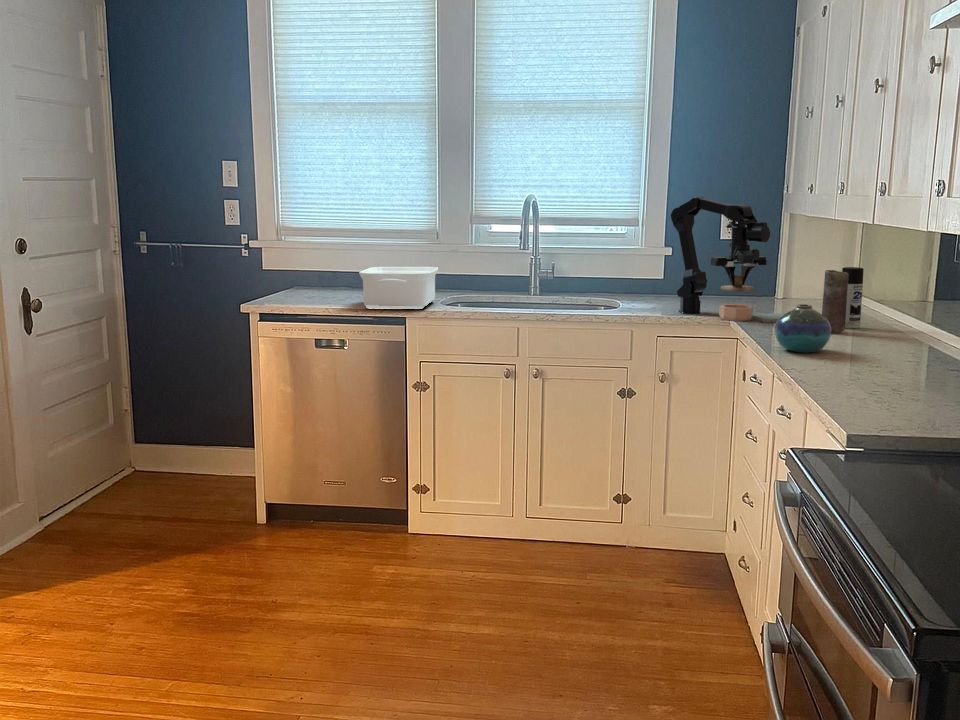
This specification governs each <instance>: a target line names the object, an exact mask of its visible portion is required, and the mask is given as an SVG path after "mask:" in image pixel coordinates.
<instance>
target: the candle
mask: <svg viewBox="0 0 960 720" xmlns="http://www.w3.org/2000/svg"><path fill="white" fill-rule="evenodd" d="M848 276H849V274H848V273H846V272H842V271H839V270H833V269H825V271H824V280H823V281H824V283H823V293H822V295H823V296H822V307H821V314H822V315H823V316H824V317H826V318H827V319H828V321H829V322H830V325H831V333H835V334H836V333H842V332H844V331H845V320H846V305H847V290H848Z"/></svg>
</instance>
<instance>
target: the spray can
mask: <svg viewBox="0 0 960 720" xmlns="http://www.w3.org/2000/svg"><path fill="white" fill-rule="evenodd" d="M864 270H865V269H864V268H863V267H859V266H858V267H856V266H846V267H842V268H841V272H846V273H848V274H849V276H848V290H847V305H846V320H845V329H846V330H859V329H861V319H862V317H861V316H862V314H861V313H862V303H863V302H862V300H863V289H864V288H863V284H864Z"/></svg>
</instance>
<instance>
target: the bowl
mask: <svg viewBox="0 0 960 720" xmlns="http://www.w3.org/2000/svg"><path fill="white" fill-rule="evenodd" d="M718 309H719V311H718V313H719V314H718V315H719V316H720V317H719V319H721V320H723V321H731V322H745V321H747V322H748V321H751V320H752V318H751V317H753V314H754V307H753V306H751V305H749V304H741V303H740V304H737V303H733V304H731V303H729V304H728V303H727V304H722V305H721V304H720V305H719V308H718Z"/></svg>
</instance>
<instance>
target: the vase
mask: <svg viewBox="0 0 960 720" xmlns="http://www.w3.org/2000/svg"><path fill="white" fill-rule="evenodd" d="M774 336H775V339H776V341H777V343H778V344H779V345H780V346H781V348H783V349H785V350H787V351H790V352H793V353H801V354H802V353H807V354H808V353H815V352H818V351H820V350H822V349H824V347H826V345H827V344H828V343H829V342H830V338H831V336H832V332H831V325H830V322H829V321H828V319H827V318H826V317H824V316H823V315H822V313H820V312H818V311H817V310H815V309H814V308H813V306H812V304H802V303H801V304H797V305H796V307H795V308H794V309H792V310H790V311H788V312H785V313H784V315H782V316H781V317H780V318H779V319H778V321H777V322H775V325H774Z"/></svg>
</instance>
